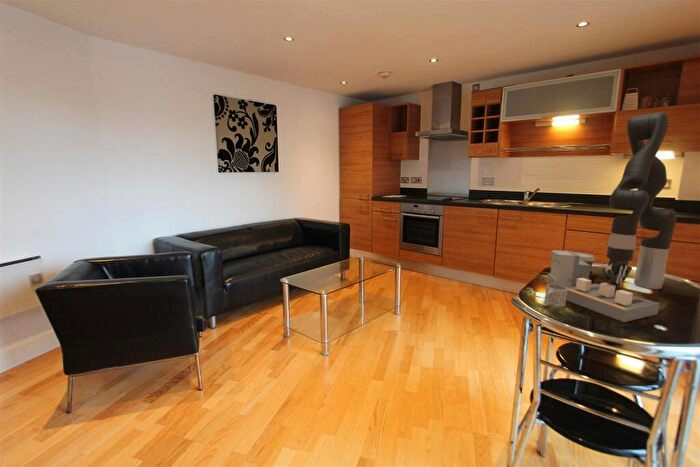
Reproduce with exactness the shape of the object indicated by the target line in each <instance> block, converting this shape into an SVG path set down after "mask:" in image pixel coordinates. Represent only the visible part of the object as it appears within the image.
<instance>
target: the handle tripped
mask: <svg viewBox="0 0 700 467" xmlns="http://www.w3.org/2000/svg"><path fill="white" fill-rule="evenodd" d="M599 285H600V287H599V293H598V294H599V295H602V296H605V297H613V296H614V293H615V287H616V286H614V285H611V283H610V284H609V283H607V282H602V283H599Z"/></svg>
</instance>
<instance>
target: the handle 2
mask: <svg viewBox="0 0 700 467" xmlns="http://www.w3.org/2000/svg"><path fill="white" fill-rule="evenodd" d="M633 295H634V293H633V292H630V291H627V290H624V289H619V290H618V291H616V295H615V301H614V302H616V303H619V304H622V305H625V306H626V305H631V302H632V297H633Z"/></svg>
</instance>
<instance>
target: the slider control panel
mask: <svg viewBox="0 0 700 467" xmlns="http://www.w3.org/2000/svg"><path fill="white" fill-rule="evenodd" d="M599 287H600V284H599V283H591V288H590V291H586V292H584V291H581V290H578V289H576V286H575V287H571V288H567V296H566V302H570V303H573V304H575V305H578V306H581V307H583V308H586V309H589V310H591V311H594V312H596V313H599V314H602V315H604V316H607V317H609V318H611V319H614V320H616V321H620V322H622V323H626V322H630V321H631V322H632V321H634V320H638V319H639V320H640V319H643V318H647V317H648V318H649V317H652V316H656V315H658V313H659V308H660V304H661V303H659V302H656V301H653V300H649V299H646V298H643V297H640V296H637V295H634V294H633V297H632V302H631V305H626V306H625V305H622V304H619V303H616V302H614V301H615V295H616V293H614V296H613V297H605V296H602V295H599V294H598V293H599Z"/></svg>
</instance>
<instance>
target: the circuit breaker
mask: <svg viewBox="0 0 700 467" xmlns="http://www.w3.org/2000/svg"><path fill="white" fill-rule="evenodd" d="M576 253H577V252H575V251H571V250H555V249H554V250H553V249H551V253H550V255H549V256H550V257H549V261H550V262H551V266H550V272H549V273H548V274H547V282H546V283H547V284H546V285H548V284H558V285H562V286H565V287H567V288H571V287H576V282H577V279H578V278H585V279H588V280H590V274H593V271H592V269H591V270H590V267H591V265H589V264H587V263H585V262H584V261H581V260H579V258H580V256H579V255H577V254H576ZM591 268H592V267H591Z"/></svg>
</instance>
